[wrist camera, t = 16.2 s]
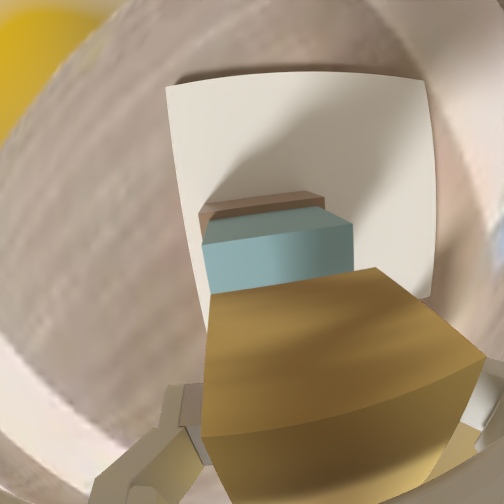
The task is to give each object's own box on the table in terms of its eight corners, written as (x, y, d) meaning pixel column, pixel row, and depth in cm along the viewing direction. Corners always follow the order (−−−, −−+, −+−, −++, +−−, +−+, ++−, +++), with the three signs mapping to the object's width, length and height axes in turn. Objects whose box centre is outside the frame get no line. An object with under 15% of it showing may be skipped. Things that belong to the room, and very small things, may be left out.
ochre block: (375, 266, 9) (486, 356, 4) (366, 386, 10) (422, 484, 5) (210, 294, 8) (200, 437, 4) (237, 413, 10) (248, 532, 5)
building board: (416, 83, 19) (454, 71, 14) (423, 291, 25) (455, 315, 20) (168, 91, 18) (151, 70, 13) (209, 332, 24) (206, 372, 19)
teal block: (316, 206, 16) (352, 223, 11) (322, 302, 18) (351, 347, 13) (208, 220, 16) (201, 245, 11) (225, 318, 18) (226, 369, 13)
